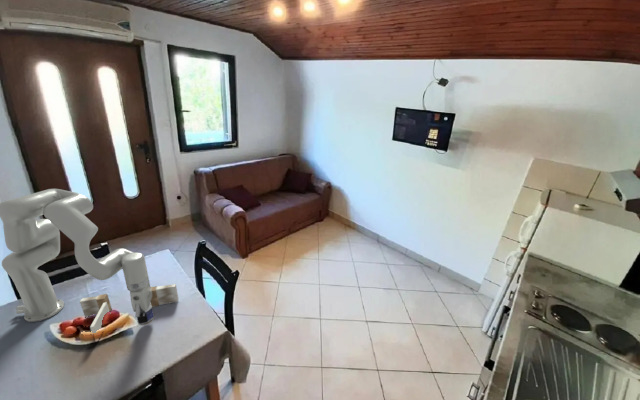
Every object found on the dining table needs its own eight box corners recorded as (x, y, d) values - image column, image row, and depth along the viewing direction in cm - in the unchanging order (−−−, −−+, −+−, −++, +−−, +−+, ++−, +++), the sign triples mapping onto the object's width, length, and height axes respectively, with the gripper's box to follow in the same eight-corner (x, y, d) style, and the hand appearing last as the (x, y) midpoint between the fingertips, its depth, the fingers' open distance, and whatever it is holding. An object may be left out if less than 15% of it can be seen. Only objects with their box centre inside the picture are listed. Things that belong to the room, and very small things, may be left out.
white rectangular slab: (104, 317, 116) (100, 303, 113) (111, 316, 117) (106, 302, 114) (91, 342, 105) (86, 327, 102) (99, 341, 105) (93, 326, 102)
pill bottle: (157, 317, 115) (153, 299, 111) (145, 327, 110) (141, 309, 106) (146, 314, 116) (142, 296, 113) (134, 324, 111) (130, 305, 107)
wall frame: (84, 318, 115) (79, 302, 112) (87, 313, 118) (82, 297, 115) (177, 302, 127) (174, 287, 124) (178, 298, 129) (175, 283, 126)
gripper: (143, 295, 99) (150, 330, 106) (153, 268, 114) (159, 300, 121) (119, 298, 97) (128, 334, 103) (133, 270, 112) (140, 303, 118)
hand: (145, 316), depth 112 cm, fingers closed on pill bottle, 5 cm apart
